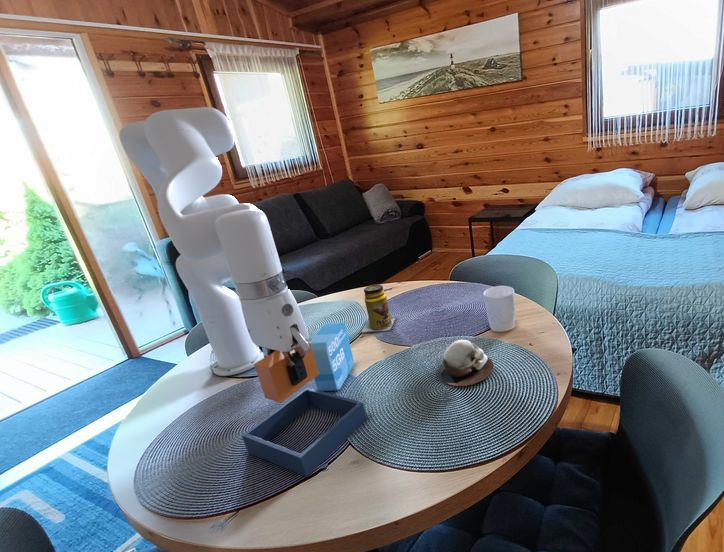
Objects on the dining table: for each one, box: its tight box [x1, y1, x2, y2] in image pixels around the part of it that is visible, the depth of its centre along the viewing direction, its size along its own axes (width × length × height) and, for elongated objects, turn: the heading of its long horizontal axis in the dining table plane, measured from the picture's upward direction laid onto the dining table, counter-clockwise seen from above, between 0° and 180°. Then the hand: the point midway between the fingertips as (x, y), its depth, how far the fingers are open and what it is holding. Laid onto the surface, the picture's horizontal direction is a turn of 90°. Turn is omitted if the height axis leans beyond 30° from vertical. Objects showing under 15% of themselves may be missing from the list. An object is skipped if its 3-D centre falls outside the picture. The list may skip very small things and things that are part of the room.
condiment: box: [360, 283, 396, 333], centre depth 122 cm, size 7×8×12 cm
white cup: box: [483, 285, 516, 333], centre depth 113 cm, size 8×8×10 cm
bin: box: [241, 387, 368, 477], centre depth 82 cm, size 16×16×4 cm
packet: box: [253, 340, 319, 403], centre depth 77 cm, size 4×9×7 cm, turn 152°
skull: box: [439, 339, 494, 387], centre depth 96 cm, size 12×10×10 cm
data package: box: [309, 322, 355, 392], centre depth 98 cm, size 12×4×12 cm, turn 176°
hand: (290, 377), depth 78 cm, fingers closed on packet, 4 cm apart
